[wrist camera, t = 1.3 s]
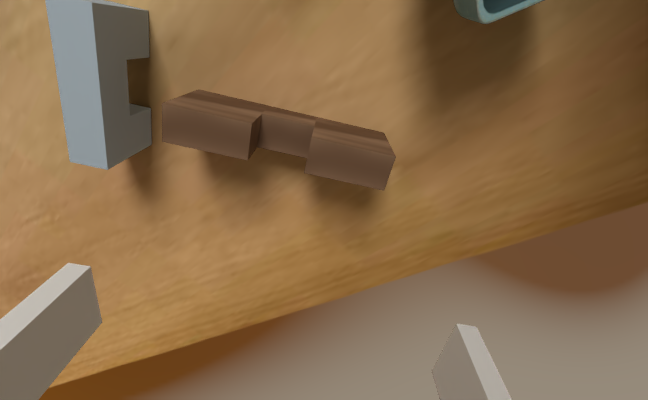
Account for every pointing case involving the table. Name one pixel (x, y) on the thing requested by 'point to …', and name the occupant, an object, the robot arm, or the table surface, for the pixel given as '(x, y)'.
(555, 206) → the table surface
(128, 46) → the light blue notched brick
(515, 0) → the flower pot
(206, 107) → the walnut notched block
